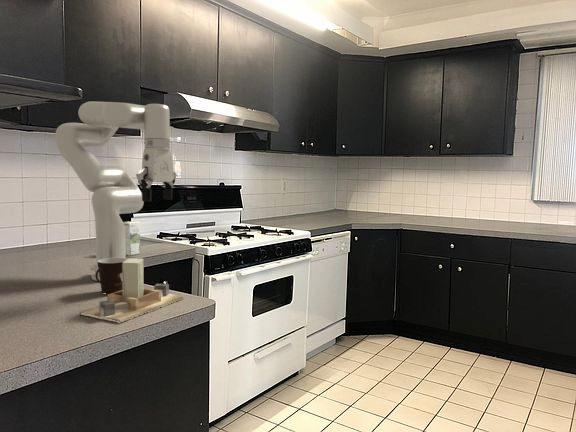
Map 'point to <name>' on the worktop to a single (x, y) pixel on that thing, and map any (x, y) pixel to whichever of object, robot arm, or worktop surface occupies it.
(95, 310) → the board
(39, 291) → the worktop surface
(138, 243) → the syrup box
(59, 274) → the worktop surface
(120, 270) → the coffee mug
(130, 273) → the skincare box
